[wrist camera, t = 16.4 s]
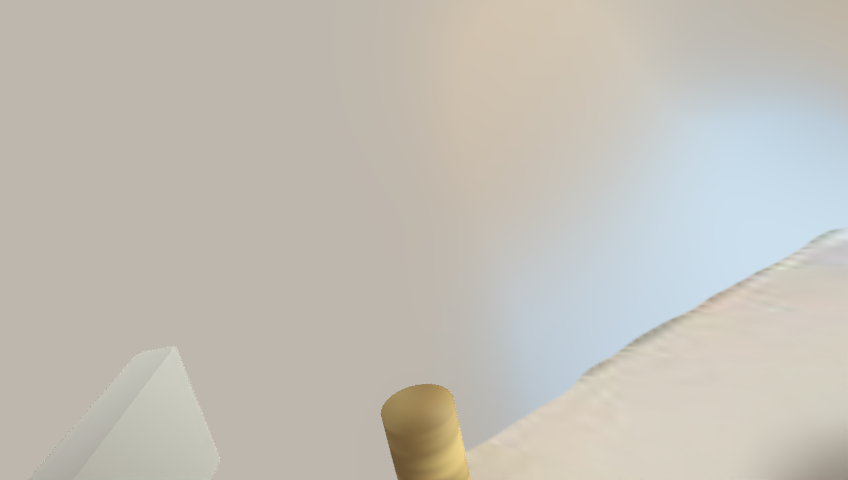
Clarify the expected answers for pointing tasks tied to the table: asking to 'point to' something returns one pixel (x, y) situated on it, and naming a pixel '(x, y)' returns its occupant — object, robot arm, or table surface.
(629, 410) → the table surface
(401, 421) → the peg
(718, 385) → the table surface
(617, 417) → the table surface
